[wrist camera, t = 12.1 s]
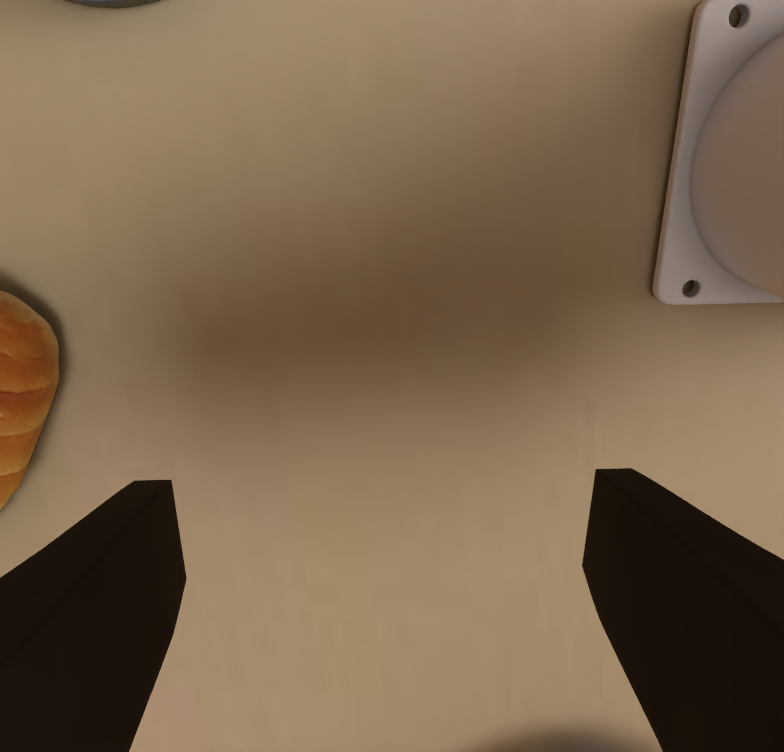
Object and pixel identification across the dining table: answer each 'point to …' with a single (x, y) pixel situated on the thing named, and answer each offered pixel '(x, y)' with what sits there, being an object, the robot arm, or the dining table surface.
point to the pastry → (23, 386)
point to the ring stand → (112, 3)
